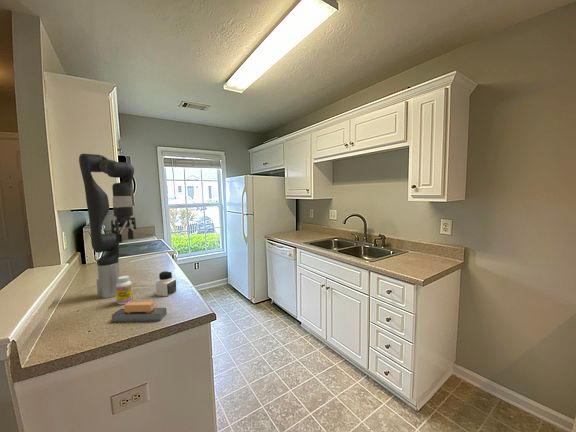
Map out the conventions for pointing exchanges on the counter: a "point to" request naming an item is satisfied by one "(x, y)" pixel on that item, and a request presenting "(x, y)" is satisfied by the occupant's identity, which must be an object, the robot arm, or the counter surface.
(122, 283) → the supplement bottle
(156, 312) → the grey slotted block
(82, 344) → the counter surface
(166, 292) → the medicine bottle
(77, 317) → the counter surface
